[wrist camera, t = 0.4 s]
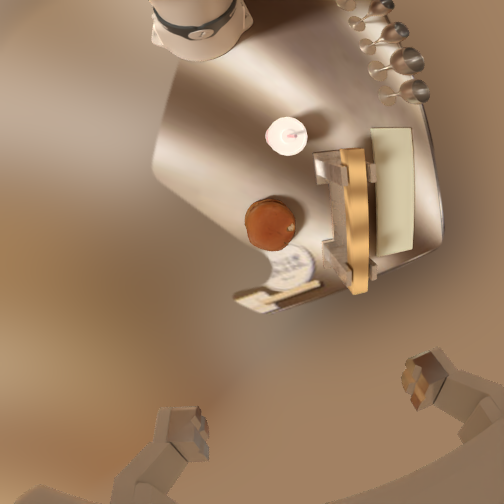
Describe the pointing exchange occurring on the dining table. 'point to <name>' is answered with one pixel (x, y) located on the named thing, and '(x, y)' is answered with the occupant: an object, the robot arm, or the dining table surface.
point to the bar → (356, 218)
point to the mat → (393, 189)
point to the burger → (270, 224)
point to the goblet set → (401, 59)
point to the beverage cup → (286, 136)
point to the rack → (339, 212)
